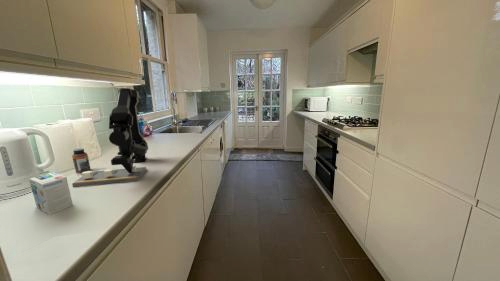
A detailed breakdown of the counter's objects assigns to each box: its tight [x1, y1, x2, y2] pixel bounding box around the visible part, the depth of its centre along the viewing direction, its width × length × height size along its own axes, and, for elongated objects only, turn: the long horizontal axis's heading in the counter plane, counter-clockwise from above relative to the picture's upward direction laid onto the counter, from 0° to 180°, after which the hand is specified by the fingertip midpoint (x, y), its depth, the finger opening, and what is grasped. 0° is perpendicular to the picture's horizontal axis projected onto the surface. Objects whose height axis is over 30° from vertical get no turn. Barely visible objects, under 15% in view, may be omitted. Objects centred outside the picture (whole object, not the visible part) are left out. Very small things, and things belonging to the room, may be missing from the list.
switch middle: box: [104, 168, 114, 177], centre depth 91 cm, size 2×3×3 cm, turn 101°
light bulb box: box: [28, 171, 74, 215], centre depth 70 cm, size 11×7×11 cm, turn 62°
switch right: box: [81, 170, 93, 179], centre depth 90 cm, size 2×3×3 cm, turn 101°
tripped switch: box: [132, 164, 137, 172], centre depth 96 cm, size 2×3×3 cm, turn 101°
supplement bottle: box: [71, 148, 91, 174], centre depth 102 cm, size 6×6×11 cm
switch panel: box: [71, 166, 147, 188], centre depth 95 cm, size 14×25×2 cm, turn 101°
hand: (130, 172), depth 94 cm, fingers closed
